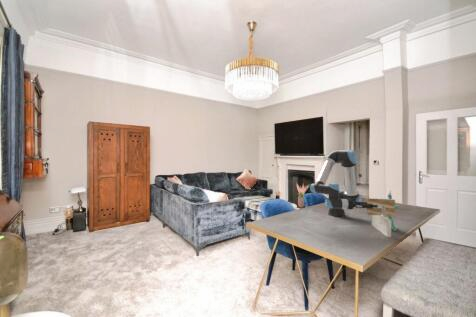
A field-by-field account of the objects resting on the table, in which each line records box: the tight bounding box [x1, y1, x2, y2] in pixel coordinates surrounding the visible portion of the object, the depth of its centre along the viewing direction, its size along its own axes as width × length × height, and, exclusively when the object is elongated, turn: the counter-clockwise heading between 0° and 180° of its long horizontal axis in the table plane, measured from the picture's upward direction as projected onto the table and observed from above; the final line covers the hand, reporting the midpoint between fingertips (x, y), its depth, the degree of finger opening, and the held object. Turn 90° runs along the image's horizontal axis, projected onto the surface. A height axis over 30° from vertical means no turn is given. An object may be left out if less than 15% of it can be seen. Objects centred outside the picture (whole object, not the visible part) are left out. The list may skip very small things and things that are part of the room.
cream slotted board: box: [371, 213, 392, 238], centre depth 165 cm, size 26×2×12 cm, turn 169°
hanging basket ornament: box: [387, 190, 399, 232], centre depth 170 cm, size 11×11×30 cm
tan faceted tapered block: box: [366, 197, 396, 217], centre depth 161 cm, size 2×18×12 cm, turn 79°
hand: (380, 205), depth 161 cm, fingers closed on tan faceted tapered block, 2 cm apart
